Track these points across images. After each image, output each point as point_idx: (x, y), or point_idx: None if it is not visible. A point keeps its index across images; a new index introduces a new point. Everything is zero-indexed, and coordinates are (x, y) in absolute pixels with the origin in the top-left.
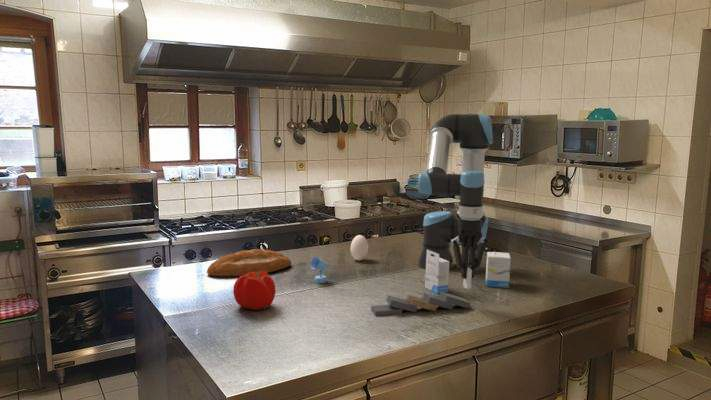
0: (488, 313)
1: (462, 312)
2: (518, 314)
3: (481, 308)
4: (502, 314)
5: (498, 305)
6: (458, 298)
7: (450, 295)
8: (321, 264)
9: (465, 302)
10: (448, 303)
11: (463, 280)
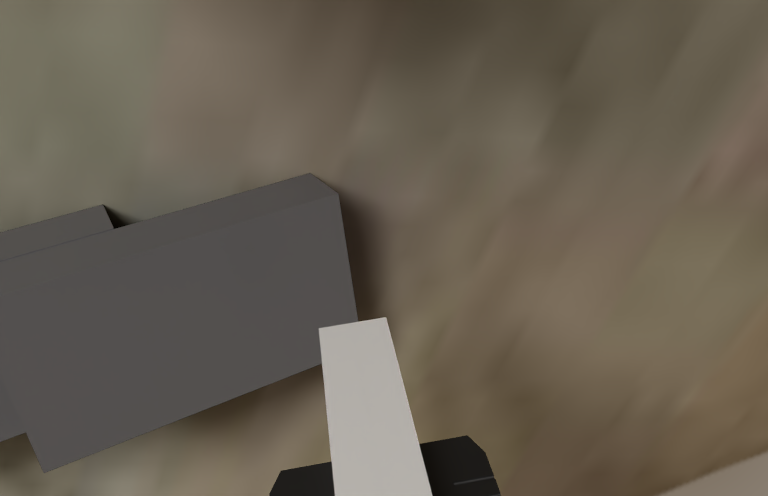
0: (477, 425)
1: (243, 406)
2: (712, 442)
3: (471, 315)
4: (584, 443)
5: (680, 243)
6: (227, 348)
7: (117, 351)
8: None
9: (301, 366)
10: None
11: (324, 387)
